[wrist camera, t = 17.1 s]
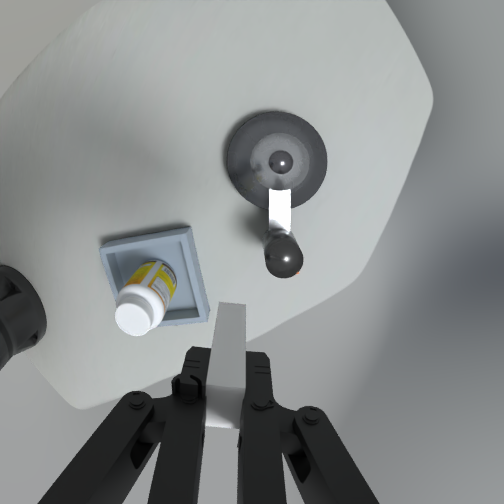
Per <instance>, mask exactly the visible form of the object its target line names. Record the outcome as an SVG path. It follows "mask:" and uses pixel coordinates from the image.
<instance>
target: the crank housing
mask: <svg viewBox="0 0 504 504" xmlns="http://www.w3.org/2000/svg"><path fill="white" fill-rule="evenodd" d="M274 133H286V134H289V135H292V136H294V137H296V138H297V139H299V140H300V141H301V142H302V143H303V144H304V146H305V147H306V149H307V151H308V154H309V161H310V164H309V170H308V173H307V175H306V177H305V178H304V180H303V181H302V182H301V183H300V184H299V185H298V186H296V187H294V188H292V189H290V209H291V208H294V207H297V206H299V205H301V204H303V203H305V202H306V201H308V200H309V199H310V198H311V197H312V196H313V195H314V194H315V193H316V192H317V191H318V189H319V188H320V186H321V184H322V182H323V180H324V178H325V175H326V170H327V153H326V148H325V145H324V142H323V140H322V138H321V137H320V135H319V134H318V132H317V131H316V130H315V129H314V127H313V126H312V125H310V124H309V123H308V122H307V121H305V120H304V119H302V118H300V117H298V116H296V115H293V114H290V113H285V112H269V113H264V114H261V115H258V116H256V117H254V118H252V119H250V120H249V121H247V122H246V123H245V124H243V125H242V126H241V127H240V128H239V130H238V131H237V132H236V134H235V135H234V137H233V139H232V141H231V143H230V146H229V149H228V155H227V165H228V171H229V175H230V178H231V181H232V183H233V184H234V186H235V188H236V189H237V191H238V192H239V193H240V194H241V195H242V196H243V197H244V198H245V199H246V200H248V201H249V202H251V203H252V204H254V205H256V206H259V207H261V208H264V209H269V189H268V188H266V187H265V186H263V185H262V184H261V183H259V181H258V180H257V179H256V178H255V176H254V174H253V172H252V169H251V163H250V159H251V153H252V151H253V148H254V147H255V145H256V144H257V143H258V142H259V141H260V140H261V139H263V138H264V137H266V136H268V135H270V134H274Z"/></svg>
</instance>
